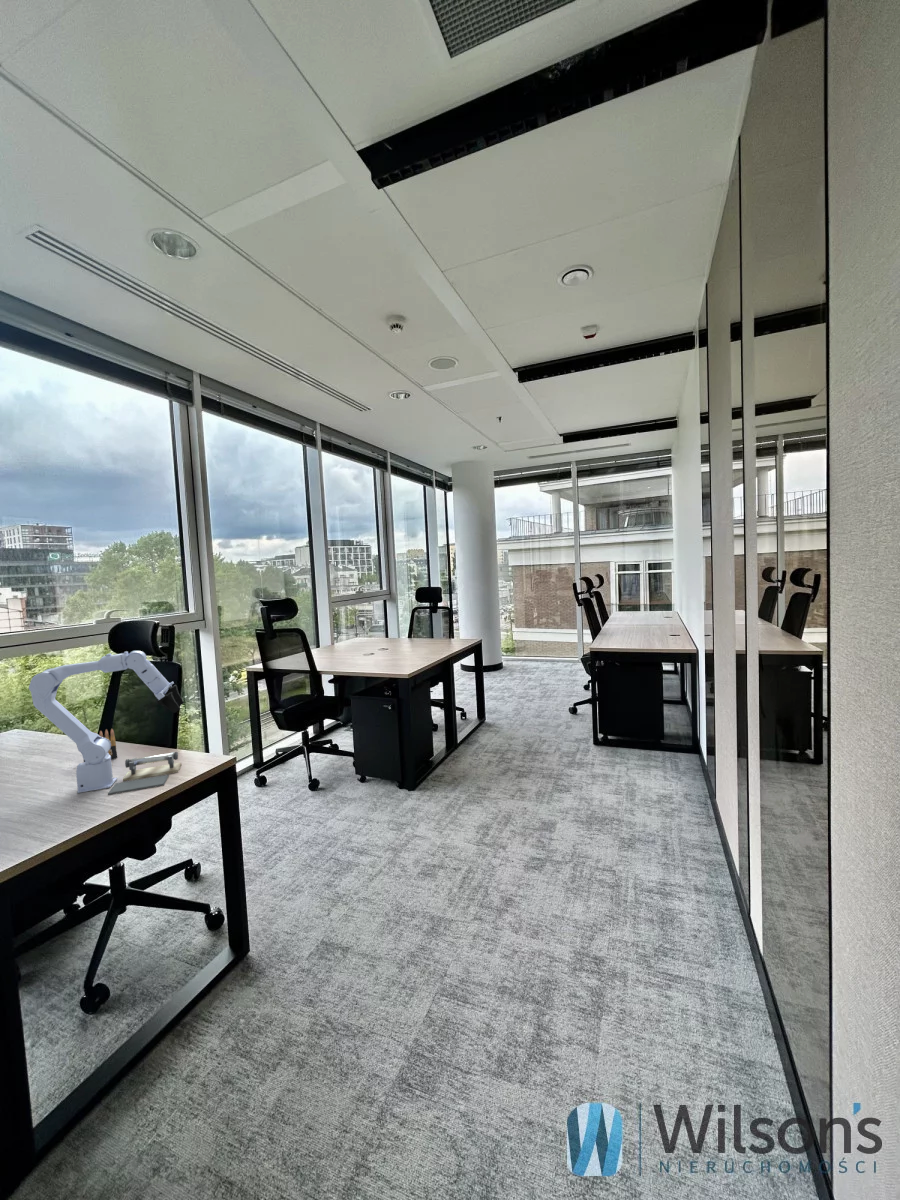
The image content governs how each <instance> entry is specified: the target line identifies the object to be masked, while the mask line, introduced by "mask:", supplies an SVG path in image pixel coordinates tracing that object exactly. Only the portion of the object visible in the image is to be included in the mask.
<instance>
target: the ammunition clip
mask: <svg viewBox="0 0 900 1200" xmlns="http://www.w3.org/2000/svg"><path fill="white" fill-rule="evenodd" d="M94 733H97V731H94ZM98 735H99V736H101V737H104V738H107V739H108V740H109V741H110V742H111V748H110V750H109V751H108V753H109V755H110V756H111V760H114V759H117V758H118V752H117V743H116V737H115V732H114V729H113V728H111V729H110V735H109V731H108V729H107V728H106V729H105V731H104V735H103V731H102V730H100V731H99V734H98ZM84 762H85V760H84V759H83V763H84Z"/></svg>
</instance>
